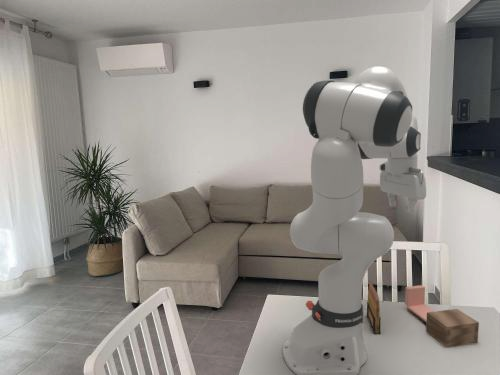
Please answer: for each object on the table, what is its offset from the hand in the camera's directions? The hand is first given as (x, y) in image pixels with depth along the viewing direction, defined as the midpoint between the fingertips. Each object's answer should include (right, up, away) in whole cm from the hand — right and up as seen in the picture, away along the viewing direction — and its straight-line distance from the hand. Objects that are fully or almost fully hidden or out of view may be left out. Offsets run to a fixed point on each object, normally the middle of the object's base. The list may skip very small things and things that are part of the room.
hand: (400, 208), depth 114 cm
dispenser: (+8, -36, -14) cm, 39 cm away
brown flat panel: (-11, -36, -6) cm, 38 cm away
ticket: (+6, -33, -4) cm, 34 cm away
